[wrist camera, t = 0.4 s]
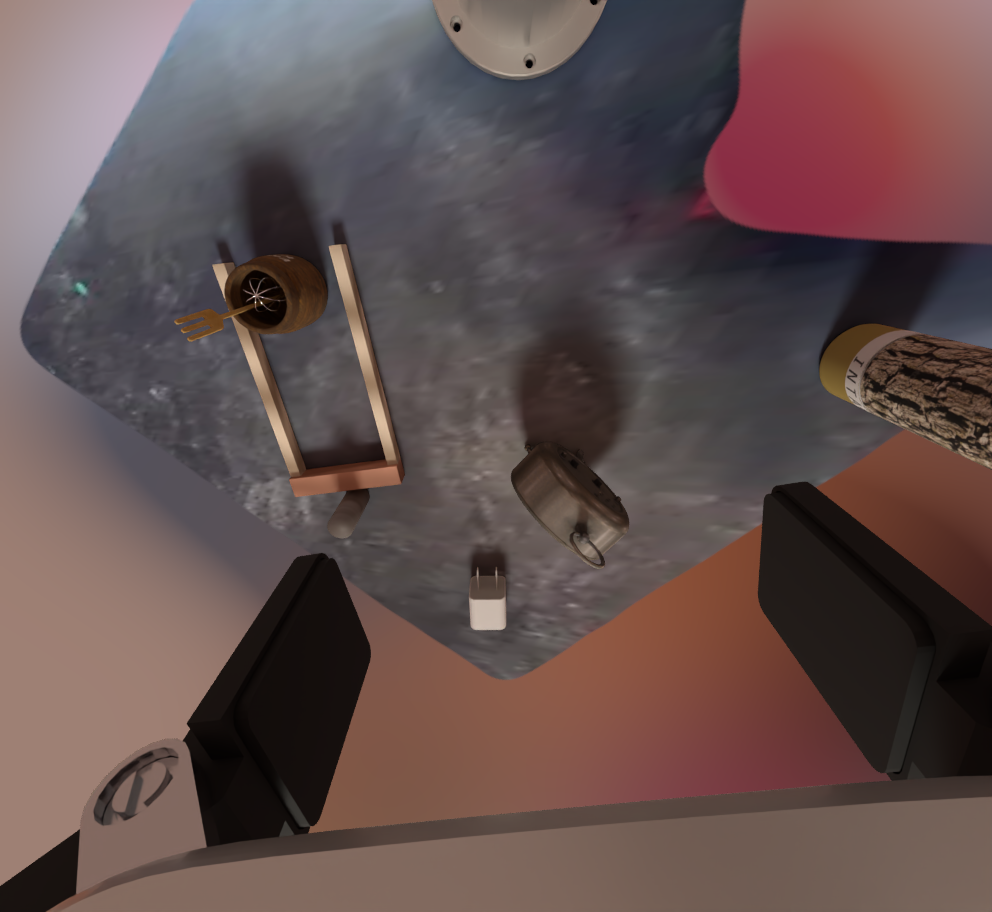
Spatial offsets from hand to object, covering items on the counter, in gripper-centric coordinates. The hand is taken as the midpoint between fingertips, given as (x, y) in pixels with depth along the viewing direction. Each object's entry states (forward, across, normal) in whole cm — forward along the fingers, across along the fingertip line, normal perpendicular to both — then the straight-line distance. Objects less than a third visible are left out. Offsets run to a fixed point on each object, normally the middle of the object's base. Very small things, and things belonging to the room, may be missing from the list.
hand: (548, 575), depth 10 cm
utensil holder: (+35, +18, -6) cm, 40 cm away
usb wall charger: (+35, +8, +28) cm, 46 cm away
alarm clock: (+35, -3, +15) cm, 38 cm away
